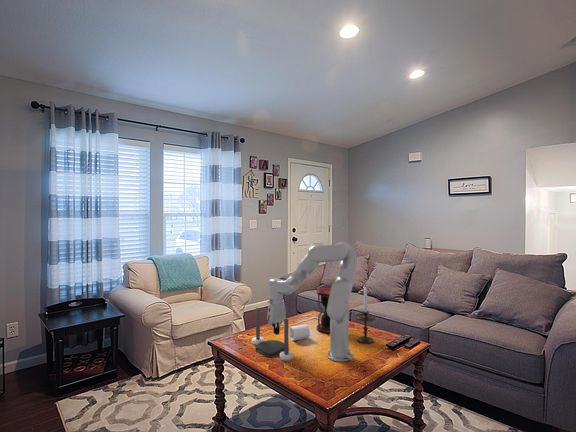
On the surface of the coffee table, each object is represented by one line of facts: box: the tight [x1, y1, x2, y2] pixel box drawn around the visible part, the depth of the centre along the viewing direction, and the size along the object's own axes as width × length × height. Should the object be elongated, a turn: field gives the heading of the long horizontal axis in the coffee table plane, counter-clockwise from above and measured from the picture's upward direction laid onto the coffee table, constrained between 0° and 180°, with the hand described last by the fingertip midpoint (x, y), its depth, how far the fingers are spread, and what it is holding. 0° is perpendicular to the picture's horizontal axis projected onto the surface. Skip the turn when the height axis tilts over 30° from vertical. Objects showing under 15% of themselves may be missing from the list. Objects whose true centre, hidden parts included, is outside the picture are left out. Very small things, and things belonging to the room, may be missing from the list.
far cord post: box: [251, 307, 265, 346], centre depth 197 cm, size 7×7×20 cm
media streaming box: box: [255, 339, 284, 358], centre depth 187 cm, size 15×15×3 cm
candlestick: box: [355, 281, 376, 345], centre depth 198 cm, size 11×11×35 cm
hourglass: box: [316, 287, 331, 335], centre depth 216 cm, size 16×16×25 cm
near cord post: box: [279, 318, 294, 362], centre depth 177 cm, size 7×7×20 cm
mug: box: [288, 323, 311, 342], centre depth 203 cm, size 12×10×8 cm
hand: (276, 333), depth 189 cm, fingers closed
